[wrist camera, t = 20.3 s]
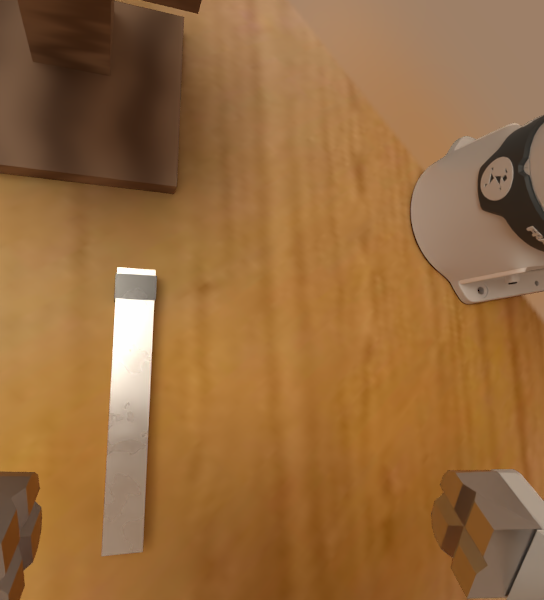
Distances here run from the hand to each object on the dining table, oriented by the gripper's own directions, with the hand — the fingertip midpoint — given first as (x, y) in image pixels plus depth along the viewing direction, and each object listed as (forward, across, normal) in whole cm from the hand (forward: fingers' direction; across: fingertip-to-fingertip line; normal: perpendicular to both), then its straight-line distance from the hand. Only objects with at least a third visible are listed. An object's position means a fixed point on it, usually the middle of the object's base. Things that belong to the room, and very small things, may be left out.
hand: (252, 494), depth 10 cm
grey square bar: (+28, +6, +18) cm, 34 cm away
